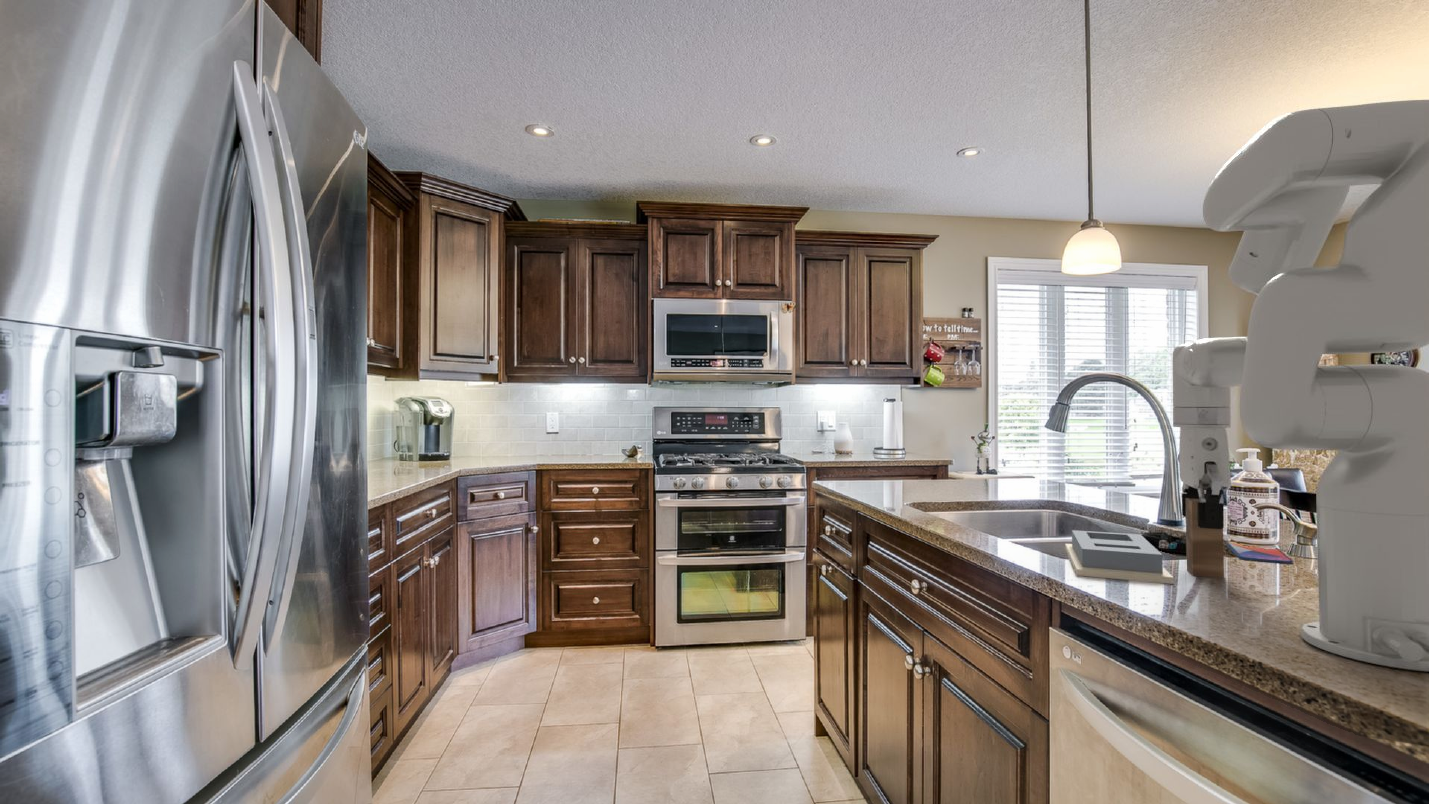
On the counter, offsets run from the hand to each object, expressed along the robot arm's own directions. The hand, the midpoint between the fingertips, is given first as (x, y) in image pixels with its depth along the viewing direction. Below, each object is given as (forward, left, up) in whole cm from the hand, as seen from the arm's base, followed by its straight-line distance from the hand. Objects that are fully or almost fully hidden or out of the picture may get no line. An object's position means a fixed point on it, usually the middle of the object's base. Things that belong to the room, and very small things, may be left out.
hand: (1201, 522), depth 104 cm
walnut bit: (-1, 0, -8) cm, 8 cm away
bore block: (+1, +12, -8) cm, 15 cm away
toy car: (+18, 0, -9) cm, 20 cm away
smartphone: (+21, -13, -9) cm, 27 cm away
